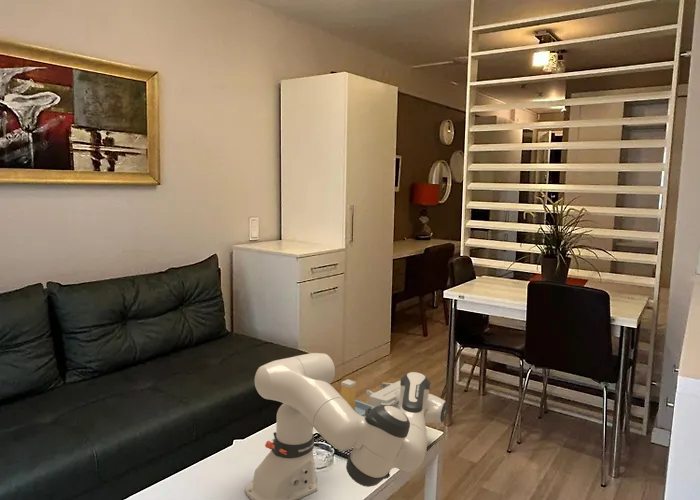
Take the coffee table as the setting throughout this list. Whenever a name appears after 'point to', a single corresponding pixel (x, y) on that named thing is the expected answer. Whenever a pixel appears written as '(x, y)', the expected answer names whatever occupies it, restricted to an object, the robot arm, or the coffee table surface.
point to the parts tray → (361, 407)
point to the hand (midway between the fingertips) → (374, 388)
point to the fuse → (349, 392)
